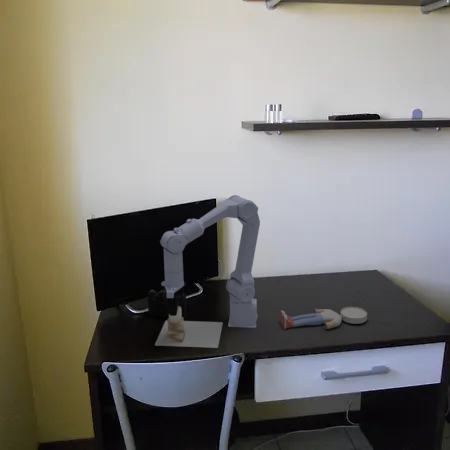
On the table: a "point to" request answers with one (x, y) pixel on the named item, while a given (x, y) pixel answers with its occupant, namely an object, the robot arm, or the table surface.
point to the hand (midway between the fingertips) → (175, 309)
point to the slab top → (175, 327)
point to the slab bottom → (176, 337)
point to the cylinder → (176, 317)
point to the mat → (194, 335)
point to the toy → (325, 318)
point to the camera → (162, 304)
